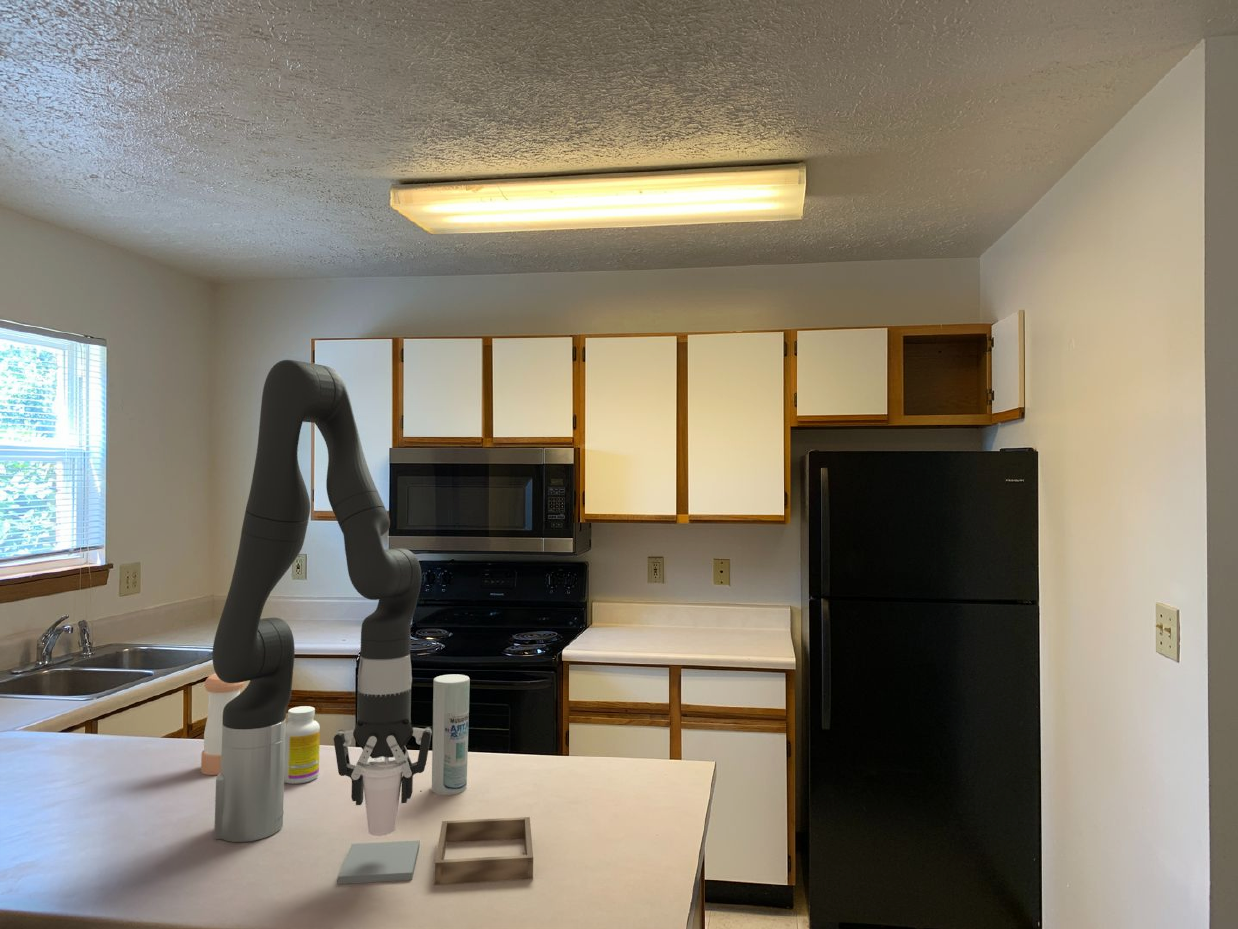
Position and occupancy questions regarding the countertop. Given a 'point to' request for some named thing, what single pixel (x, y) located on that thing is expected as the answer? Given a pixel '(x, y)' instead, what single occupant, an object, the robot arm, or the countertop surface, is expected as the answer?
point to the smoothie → (381, 793)
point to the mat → (379, 862)
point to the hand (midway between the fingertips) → (382, 801)
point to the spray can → (450, 733)
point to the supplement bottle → (301, 746)
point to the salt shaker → (216, 722)
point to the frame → (486, 866)
